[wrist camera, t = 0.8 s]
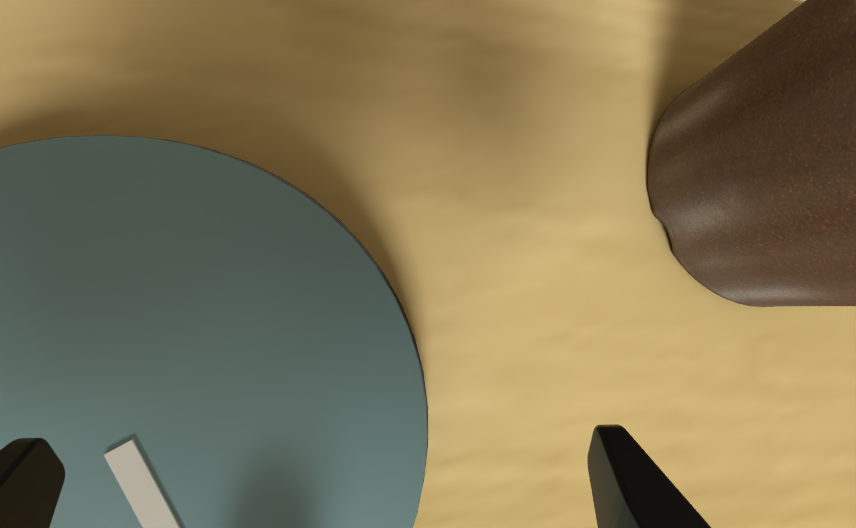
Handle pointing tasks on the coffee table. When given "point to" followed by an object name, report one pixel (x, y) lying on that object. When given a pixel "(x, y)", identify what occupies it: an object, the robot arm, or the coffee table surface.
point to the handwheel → (200, 344)
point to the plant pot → (767, 166)
